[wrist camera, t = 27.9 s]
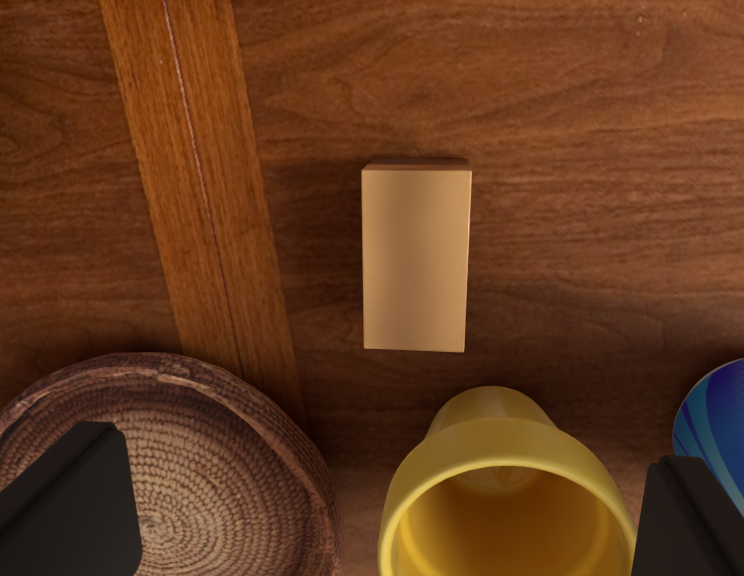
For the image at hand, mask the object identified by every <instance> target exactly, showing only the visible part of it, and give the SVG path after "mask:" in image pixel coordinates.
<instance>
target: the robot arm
mask: <svg viewBox="0 0 744 576" xmlns="http://www.w3.org/2000/svg"><path fill="white" fill-rule="evenodd" d="M142 553H143V547H142V540H141V534H140V527H139V521H138V514H137V508H136V502H135V495H134V489H133V482H132V476H131V470H130V463H129V457H128V450H127V444H126V438H125V435H124V433H123V432H122V431H118V430H117V427H116V426H115V424H114V423H112V422H99V421H80V422H78V423H77V424H75V425H74V426H73V427H72V428H71V429H70V430H69V431H67V432H66V433H65V434H64V435H63V436H62V437H61V438H60V439H59V440H57V441H56V442H55V443H54V444H53V445H52V446H51V447H50V448H49V449H47V450H46V451H45V452H44V453H43V454H42V455H41V456H40V457H39V458H37V459H36V460H35V461H34V462H33V463H32V464H31V465H30V466H29V467H27V468H26V469H25V470H24V471H23V472H22V473H21V474H20V475H19V476H17V477H16V478H15V479H14V480H13V481H12V482H11V483H10V484H9V485H7V486H6V487H5V488H4V489H3V490H2V491H1V492H0V576H134V574H135V573H136V571H137V570H138V568H139V565H140V563H141V559H142ZM631 576H744V517H743V516H742V514H741V513H740V511H739V510H738V509H737V507H736V506H735V504H734V503H733V501H732V500H731V498H730V497H729V496H728V494H727V493H726V491H725V490H724V488H723V487H722V486H721V484H720V483H719V481H718V480H717V478H716V477H715V476H714V474H713V473H712V471H711V470H710V468H709V467H708V465H707V464H706V463H705V461H704V460H703V459H702V458H700V457H693V456H676V455H663V456H662V457H661V459H660V460H659V463H651V464H650V465H649V467H648V471H647V477H646V483H645V489H644V496H643V502H642V508H641V514H640V521H639V527H638V533H637V539H636V545H635V552H634V558H633V564H632V570H631Z"/></svg>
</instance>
